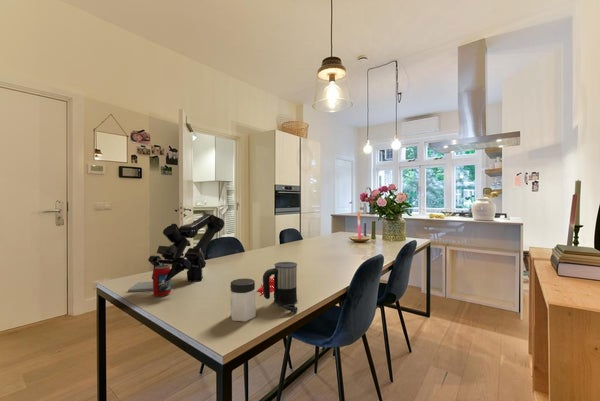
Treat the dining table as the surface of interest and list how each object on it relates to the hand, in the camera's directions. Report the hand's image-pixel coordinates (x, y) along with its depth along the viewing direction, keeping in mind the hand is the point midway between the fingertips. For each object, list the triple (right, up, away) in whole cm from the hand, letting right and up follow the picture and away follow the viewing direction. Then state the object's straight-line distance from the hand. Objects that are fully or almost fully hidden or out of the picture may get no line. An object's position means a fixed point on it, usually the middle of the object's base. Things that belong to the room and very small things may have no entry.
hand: (159, 279), depth 118 cm
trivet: (-12, -7, +11) cm, 18 cm away
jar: (+39, -7, -21) cm, 45 cm away
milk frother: (+54, -7, -11) cm, 55 cm away
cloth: (+45, -7, +12) cm, 47 cm away
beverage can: (0, -7, +1) cm, 7 cm away
